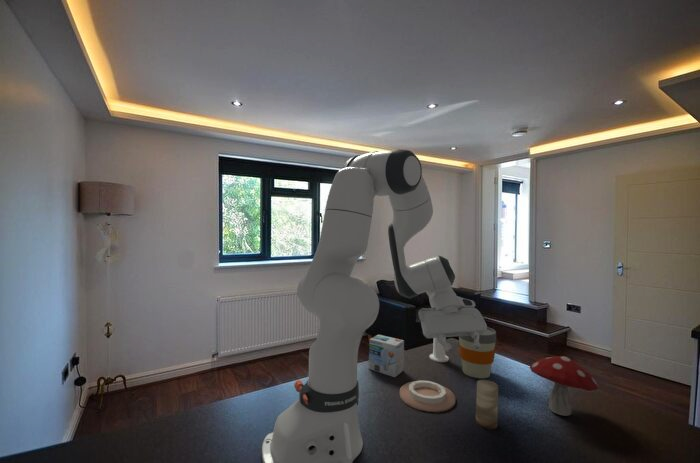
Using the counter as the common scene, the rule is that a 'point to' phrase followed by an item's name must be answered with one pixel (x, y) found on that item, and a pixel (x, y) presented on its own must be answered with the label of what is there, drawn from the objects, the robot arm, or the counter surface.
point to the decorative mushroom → (563, 380)
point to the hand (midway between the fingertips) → (463, 349)
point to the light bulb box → (386, 355)
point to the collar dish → (427, 396)
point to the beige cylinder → (487, 404)
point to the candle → (438, 352)
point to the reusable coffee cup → (478, 354)
